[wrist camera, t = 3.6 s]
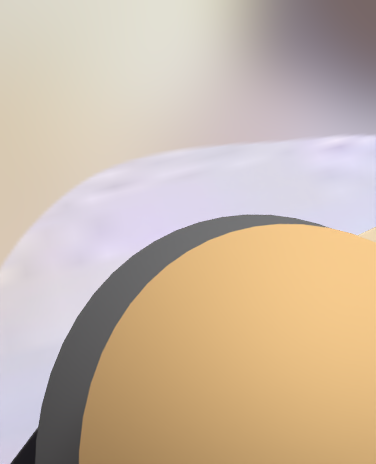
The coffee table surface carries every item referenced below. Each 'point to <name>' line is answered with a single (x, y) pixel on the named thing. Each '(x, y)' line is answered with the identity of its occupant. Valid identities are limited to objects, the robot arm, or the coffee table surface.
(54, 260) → the coffee table surface
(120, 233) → the coffee table surface
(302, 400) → the grey and orange cylinder
